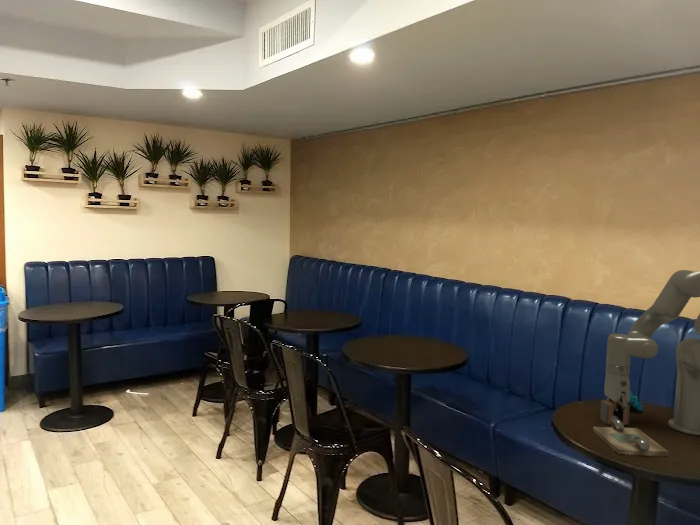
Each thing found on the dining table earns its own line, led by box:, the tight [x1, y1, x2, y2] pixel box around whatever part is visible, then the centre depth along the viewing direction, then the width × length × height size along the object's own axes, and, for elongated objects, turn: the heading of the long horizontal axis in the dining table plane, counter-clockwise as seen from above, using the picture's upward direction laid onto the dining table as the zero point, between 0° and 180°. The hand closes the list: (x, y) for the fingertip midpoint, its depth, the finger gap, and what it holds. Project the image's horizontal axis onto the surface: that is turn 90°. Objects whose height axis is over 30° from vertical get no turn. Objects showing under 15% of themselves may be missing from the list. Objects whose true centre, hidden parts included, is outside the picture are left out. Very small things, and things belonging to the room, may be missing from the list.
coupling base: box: [592, 422, 669, 457], centre depth 169 cm, size 15×18×3 cm
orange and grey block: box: [599, 399, 631, 426], centre depth 186 cm, size 8×4×7 cm, turn 88°
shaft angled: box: [611, 416, 626, 431], centre depth 176 cm, size 2×5×4 cm, turn 178°
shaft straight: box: [633, 436, 650, 451], centre depth 161 cm, size 2×5×2 cm, turn 178°
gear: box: [627, 391, 644, 412], centre depth 201 cm, size 11×6×10 cm
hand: (614, 418), depth 187 cm, fingers closed on orange and grey block, 4 cm apart
